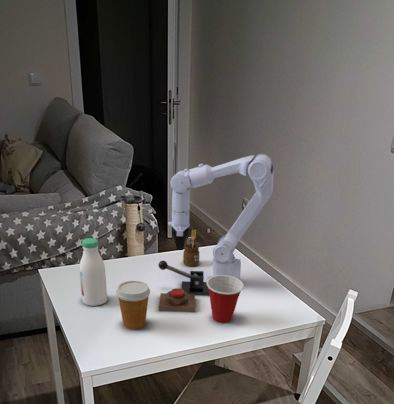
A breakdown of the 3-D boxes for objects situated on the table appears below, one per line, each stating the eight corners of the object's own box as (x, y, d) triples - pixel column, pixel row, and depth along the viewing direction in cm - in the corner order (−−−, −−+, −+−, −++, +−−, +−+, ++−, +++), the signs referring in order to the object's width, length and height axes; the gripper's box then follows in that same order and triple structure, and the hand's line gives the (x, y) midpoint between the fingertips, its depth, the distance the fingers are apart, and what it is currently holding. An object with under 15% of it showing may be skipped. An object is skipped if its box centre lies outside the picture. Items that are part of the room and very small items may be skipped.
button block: (194, 298, 159) (195, 289, 157) (194, 312, 151) (194, 302, 149) (160, 297, 158) (160, 288, 157) (158, 311, 151) (158, 301, 149)
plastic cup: (215, 331, 142) (218, 293, 136) (198, 314, 150) (199, 278, 144) (247, 323, 146) (251, 286, 140) (229, 307, 154) (231, 272, 148)
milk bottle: (112, 298, 157) (108, 238, 146) (98, 308, 151) (93, 246, 140) (91, 293, 159) (86, 234, 149) (77, 303, 153) (71, 242, 143)
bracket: (181, 294, 161) (181, 278, 158) (181, 284, 168) (182, 268, 164) (211, 295, 161) (212, 279, 158) (211, 285, 168) (211, 269, 165)
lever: (156, 269, 159) (160, 261, 157) (157, 265, 161) (160, 257, 160) (198, 286, 162) (202, 278, 160) (198, 282, 164) (202, 275, 163)
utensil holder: (181, 265, 181) (182, 234, 175) (185, 259, 186) (186, 229, 180) (197, 267, 180) (198, 236, 174) (200, 261, 185) (202, 230, 179)
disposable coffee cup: (118, 316, 147) (116, 280, 141) (150, 316, 148) (150, 280, 142) (116, 333, 139) (114, 295, 133) (150, 332, 140) (150, 295, 133)
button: (183, 293, 155) (184, 288, 154) (183, 299, 151) (183, 294, 150) (171, 293, 155) (171, 288, 154) (170, 298, 151) (170, 293, 150)
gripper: (169, 202, 166) (168, 241, 173) (167, 216, 153) (167, 257, 160) (190, 203, 166) (189, 241, 173) (190, 217, 154) (188, 257, 161)
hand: (179, 249), depth 167 cm, fingers closed
